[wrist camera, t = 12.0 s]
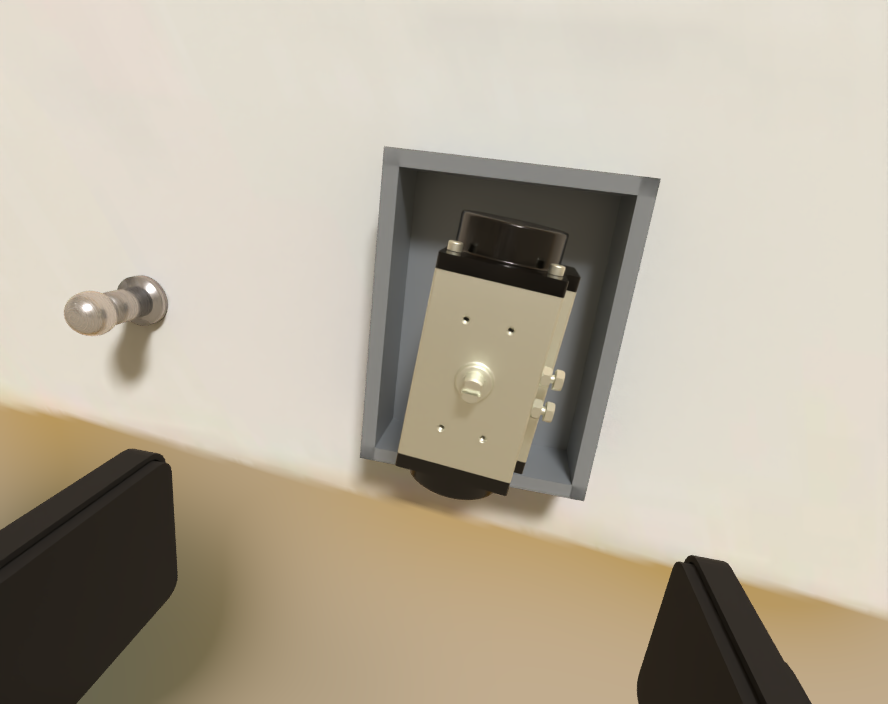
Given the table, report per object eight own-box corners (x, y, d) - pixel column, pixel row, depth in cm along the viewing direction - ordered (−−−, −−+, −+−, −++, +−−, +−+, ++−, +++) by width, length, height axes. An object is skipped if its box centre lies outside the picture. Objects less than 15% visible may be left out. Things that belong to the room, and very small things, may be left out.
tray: (382, 424, 33) (360, 457, 29) (406, 154, 28) (384, 146, 24) (576, 459, 32) (583, 501, 27) (638, 182, 26) (660, 178, 22)
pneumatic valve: (434, 398, 31) (380, 510, 20) (477, 206, 28) (441, 210, 16) (522, 420, 31) (517, 549, 19) (577, 228, 27) (611, 248, 16)
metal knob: (125, 319, 34) (50, 341, 29) (121, 272, 33) (43, 285, 28) (168, 326, 34) (101, 350, 28) (166, 279, 33) (96, 294, 27)
